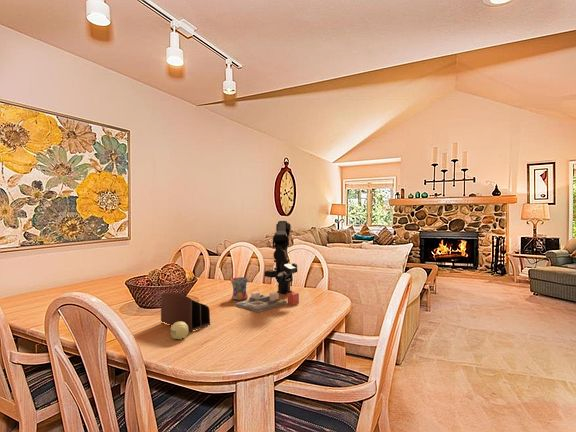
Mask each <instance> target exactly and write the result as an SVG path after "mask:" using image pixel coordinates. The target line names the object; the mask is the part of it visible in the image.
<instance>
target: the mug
mask: <svg viewBox="0 0 576 432" xmlns="http://www.w3.org/2000/svg"><path fill="white" fill-rule="evenodd" d="M248 281H249V278H248V277H245V276H244V277H243V276H242V277H240V276H239V277H233V278H230V282H231V284H232V289H233V291H232V296H231V299H232V300H235V301H243V300H246V299H247V298H248V293H247V283H248Z"/></svg>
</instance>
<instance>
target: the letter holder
mask: <svg viewBox="0 0 576 432" xmlns="http://www.w3.org/2000/svg"><path fill="white" fill-rule="evenodd" d="M160 299H161V300H160V322H161V321H162V322H165V323H167V324H170V325H173V324H174V323H175V322H178V321H182V322H184V323H186V324H187V326H188V330H189V331H193V330H196V329H199V328H201V329H204V328H206V327H205V326H207V327H208V325H209V326H211V315H210V314H211V313H210V312H211V311H210V308H209V306H208V305H206V304H204V303H201V302H198V301H195V300H194V299H191V298H190V297H189V296H186V295H184V294H182V293H181V294H180V293H177V292H169V291H167V292H162V293H161V294H160ZM203 327H204V328H203ZM199 330H200V329H199ZM196 331H197V330H196ZM193 332H194V331H193Z"/></svg>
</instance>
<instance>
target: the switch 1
mask: <svg viewBox="0 0 576 432" xmlns="http://www.w3.org/2000/svg"><path fill="white" fill-rule="evenodd" d="M260 295H261V292H259V291H252V292H250V297H252V298H255V301H256V299H260Z"/></svg>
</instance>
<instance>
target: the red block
mask: <svg viewBox="0 0 576 432" xmlns="http://www.w3.org/2000/svg"><path fill="white" fill-rule="evenodd" d="M286 294H287V304H289V305H291V306H292V305H293V306H294V305H298V304H300V295H299V294H300V293H299V292H295V291H292V292H290V293H286Z"/></svg>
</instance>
